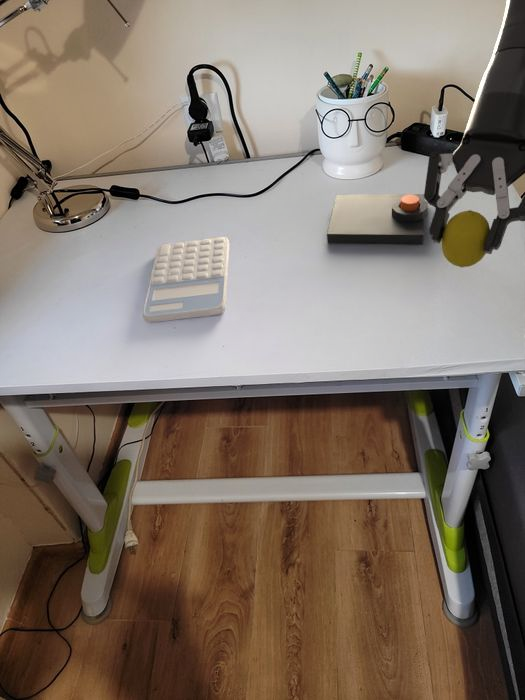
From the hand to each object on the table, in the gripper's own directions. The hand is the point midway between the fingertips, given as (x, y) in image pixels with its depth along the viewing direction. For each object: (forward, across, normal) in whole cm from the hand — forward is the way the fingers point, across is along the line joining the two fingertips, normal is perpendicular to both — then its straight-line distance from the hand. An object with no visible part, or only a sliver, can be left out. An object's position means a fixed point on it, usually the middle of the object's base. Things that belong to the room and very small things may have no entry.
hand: (461, 246), depth 61 cm
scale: (-5, -20, +24) cm, 32 cm away
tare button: (-9, -15, +24) cm, 29 cm away
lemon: (+2, 0, +4) cm, 5 cm away
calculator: (+14, -42, +5) cm, 45 cm away
